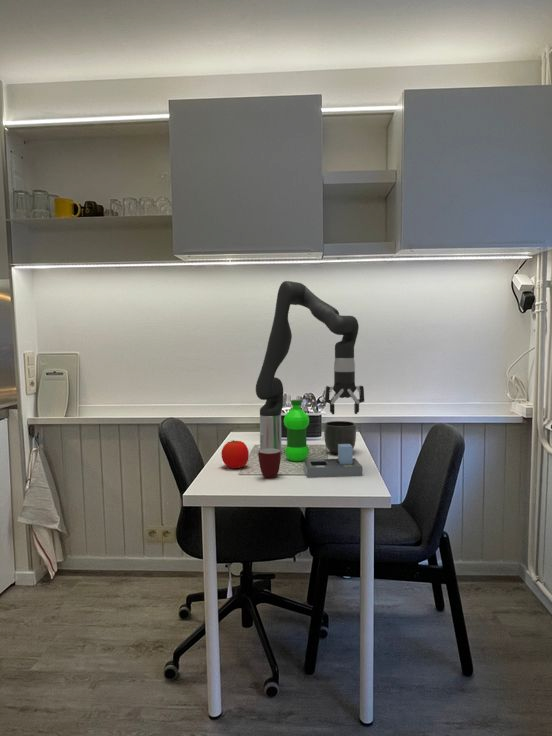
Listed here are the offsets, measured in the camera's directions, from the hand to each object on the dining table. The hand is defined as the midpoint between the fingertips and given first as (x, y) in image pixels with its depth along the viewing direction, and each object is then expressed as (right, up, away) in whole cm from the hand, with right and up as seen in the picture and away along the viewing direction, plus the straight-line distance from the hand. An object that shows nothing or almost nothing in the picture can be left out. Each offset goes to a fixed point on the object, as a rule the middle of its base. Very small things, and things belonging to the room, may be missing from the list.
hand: (344, 413), depth 184 cm
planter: (+3, -20, +32) cm, 38 cm away
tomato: (-41, -22, +12) cm, 48 cm away
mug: (-27, -23, -2) cm, 36 cm away
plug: (0, -22, +1) cm, 22 cm away
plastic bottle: (-17, -21, +20) cm, 34 cm away
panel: (-5, -22, +1) cm, 23 cm away
